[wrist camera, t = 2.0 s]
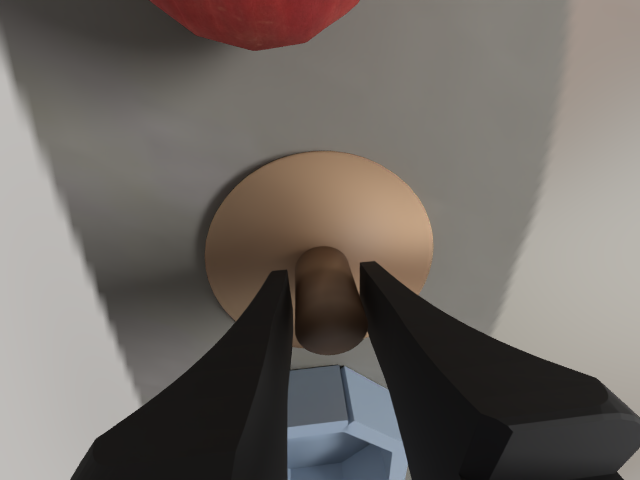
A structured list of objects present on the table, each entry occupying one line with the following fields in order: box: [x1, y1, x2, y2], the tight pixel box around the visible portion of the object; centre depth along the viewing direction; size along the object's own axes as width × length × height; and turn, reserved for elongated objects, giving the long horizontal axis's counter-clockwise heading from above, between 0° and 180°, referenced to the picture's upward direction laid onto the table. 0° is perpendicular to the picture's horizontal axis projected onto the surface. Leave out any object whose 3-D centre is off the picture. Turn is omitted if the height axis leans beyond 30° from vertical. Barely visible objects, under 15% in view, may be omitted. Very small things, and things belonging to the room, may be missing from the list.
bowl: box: [287, 365, 408, 480], centre depth 16 cm, size 11×11×3 cm
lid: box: [205, 151, 433, 355], centre depth 10 cm, size 10×10×4 cm
